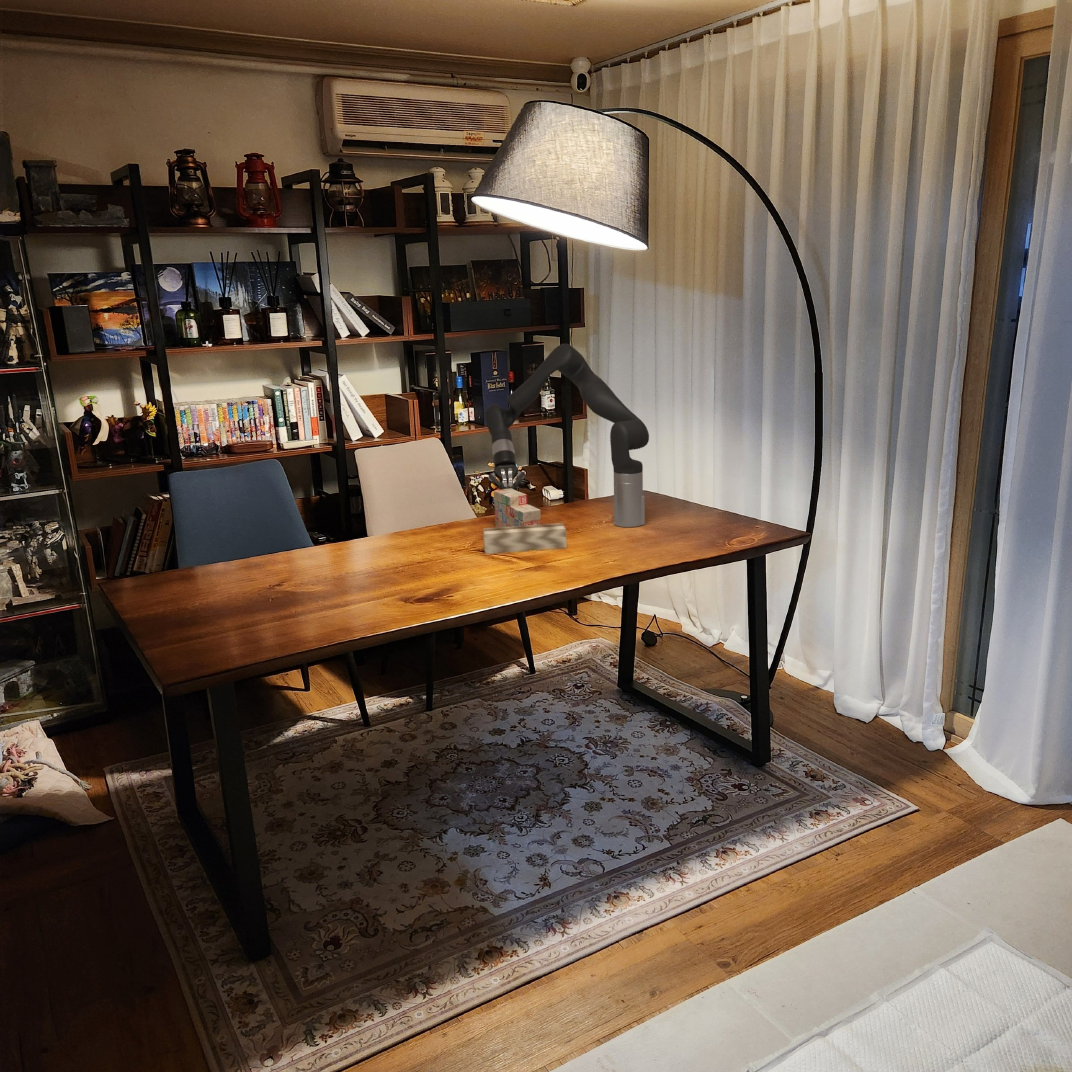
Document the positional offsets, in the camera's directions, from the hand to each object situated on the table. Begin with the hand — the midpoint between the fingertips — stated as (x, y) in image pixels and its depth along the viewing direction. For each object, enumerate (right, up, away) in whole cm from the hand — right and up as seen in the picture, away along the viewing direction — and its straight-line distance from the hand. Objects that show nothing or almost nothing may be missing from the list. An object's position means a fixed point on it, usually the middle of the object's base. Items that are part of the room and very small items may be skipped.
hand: (509, 498), depth 308 cm
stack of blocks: (+3, -12, -16) cm, 20 cm away
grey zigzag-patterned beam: (+6, -17, -35) cm, 39 cm away
